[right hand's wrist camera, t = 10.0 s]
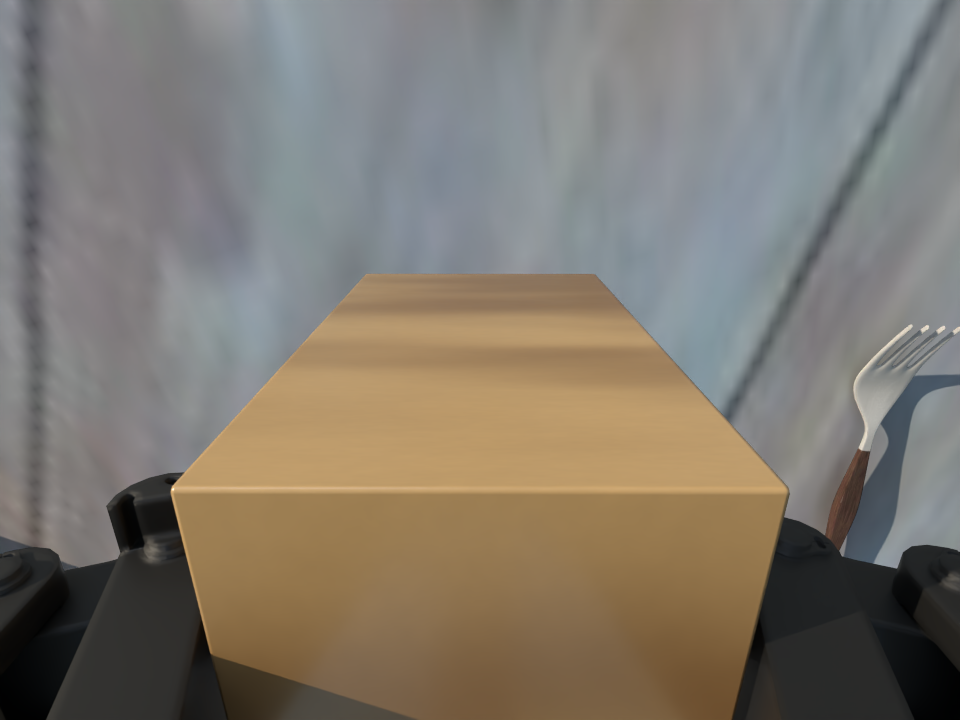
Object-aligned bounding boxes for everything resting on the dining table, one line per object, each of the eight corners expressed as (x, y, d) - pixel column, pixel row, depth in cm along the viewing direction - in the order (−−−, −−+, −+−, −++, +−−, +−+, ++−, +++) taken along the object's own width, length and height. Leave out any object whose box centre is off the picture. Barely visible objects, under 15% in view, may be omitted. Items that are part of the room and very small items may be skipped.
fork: (786, 586, 30) (807, 614, 28) (874, 311, 25) (907, 325, 23) (832, 587, 30) (856, 616, 28) (930, 314, 25) (967, 327, 23)
